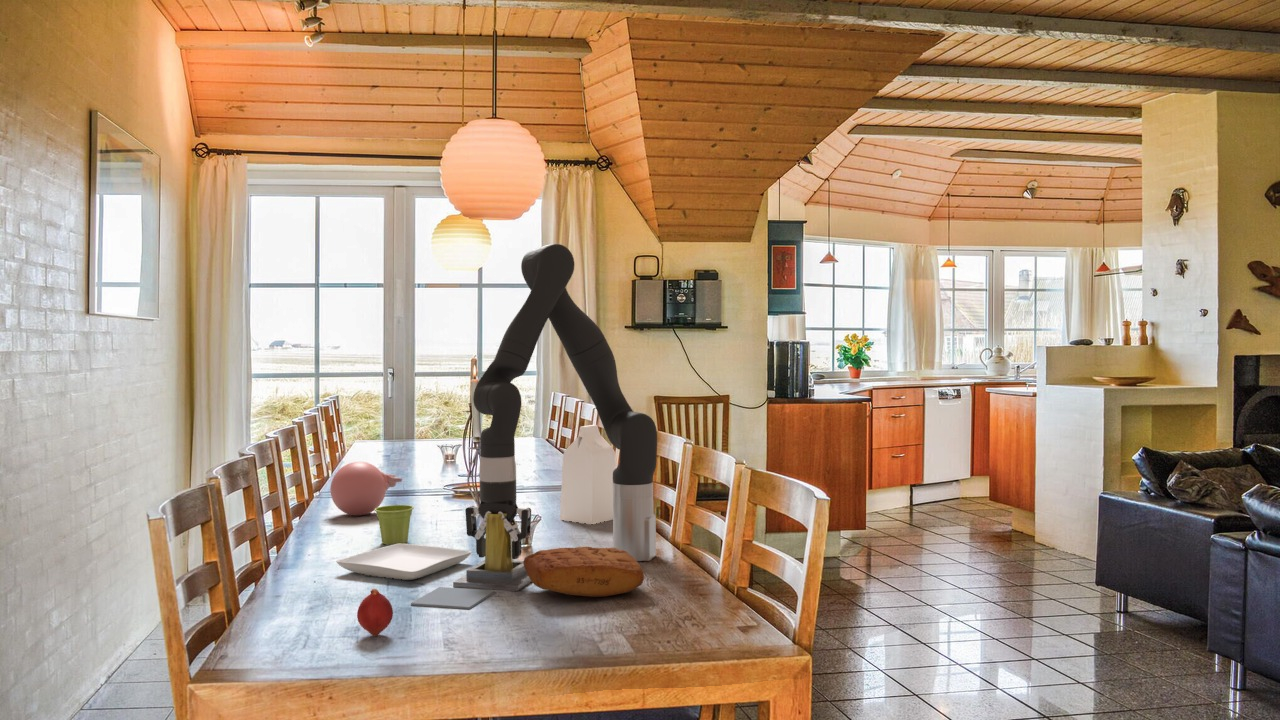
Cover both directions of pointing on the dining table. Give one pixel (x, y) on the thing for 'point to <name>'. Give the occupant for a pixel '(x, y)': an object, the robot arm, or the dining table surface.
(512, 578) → the grey square socket base
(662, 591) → the dining table surface
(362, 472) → the pink balloon
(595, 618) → the dining table surface
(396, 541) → the plant pot
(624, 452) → the robot arm
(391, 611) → the onion
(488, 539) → the vase
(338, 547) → the dining table surface
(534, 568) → the cuneiform tablet
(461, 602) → the pad
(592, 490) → the milk
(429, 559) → the salad plate
